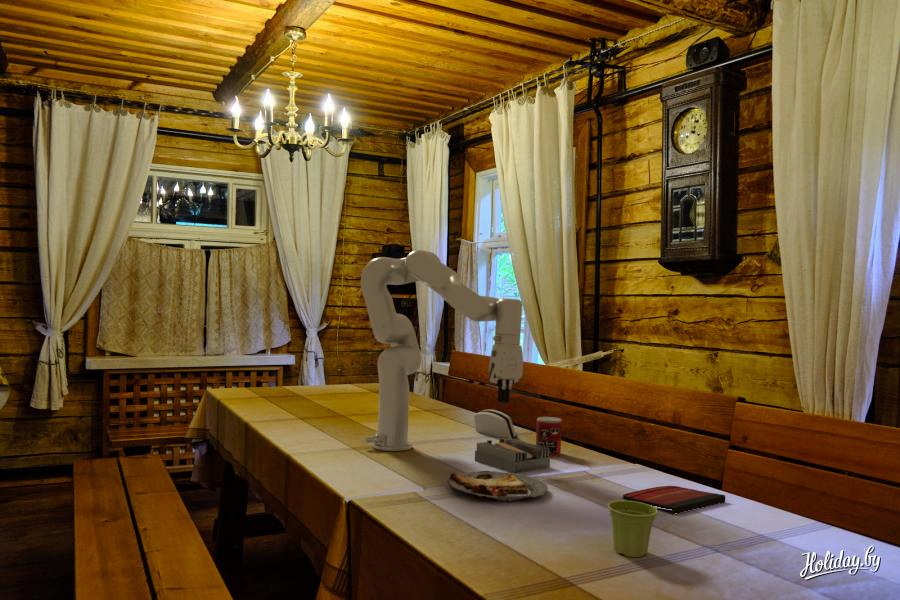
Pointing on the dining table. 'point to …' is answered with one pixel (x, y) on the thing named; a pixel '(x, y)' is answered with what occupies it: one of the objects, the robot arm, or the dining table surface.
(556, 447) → the canned food
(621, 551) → the plant pot
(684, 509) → the binder
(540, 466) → the heatsink
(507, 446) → the orange brown flat bar
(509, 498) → the food plate
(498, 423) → the white curved block
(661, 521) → the dining table surface
